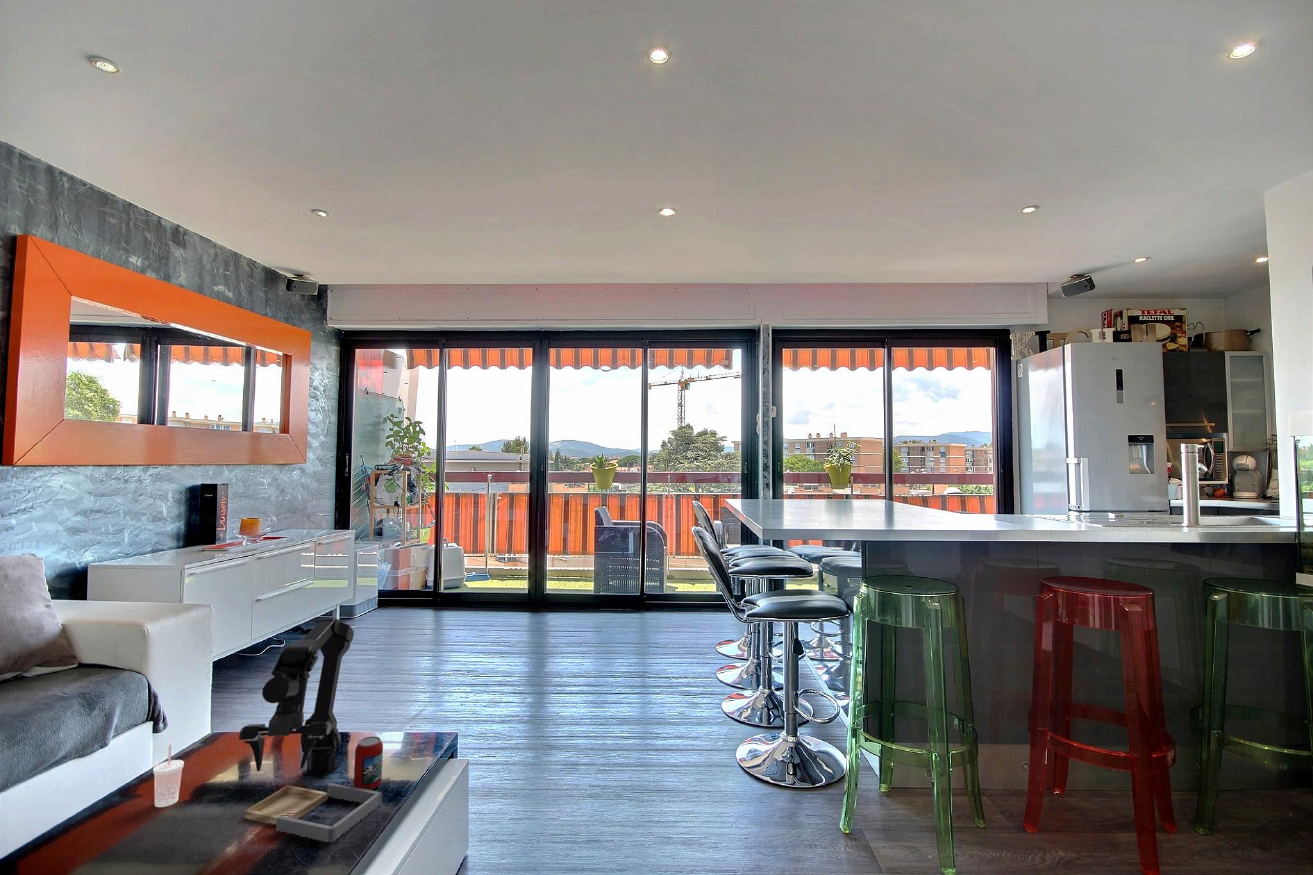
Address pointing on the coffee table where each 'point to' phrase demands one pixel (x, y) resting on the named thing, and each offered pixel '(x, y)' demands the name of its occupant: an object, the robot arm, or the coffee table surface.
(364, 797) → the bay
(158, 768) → the beverage cup
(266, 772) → the coffee table surface
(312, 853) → the coffee table surface
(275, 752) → the coffee table surface
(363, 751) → the beverage can
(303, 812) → the tray
